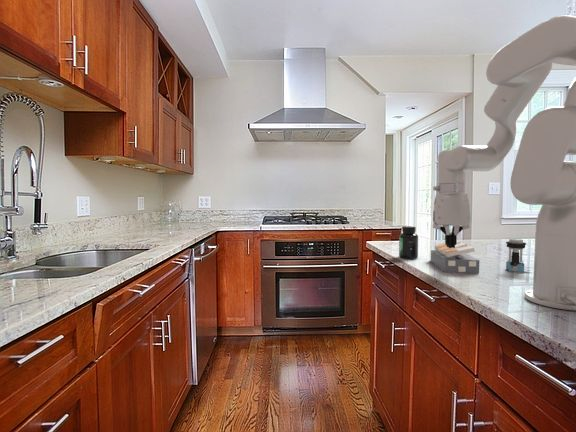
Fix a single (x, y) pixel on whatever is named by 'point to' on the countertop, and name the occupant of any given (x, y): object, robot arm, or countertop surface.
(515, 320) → the countertop surface
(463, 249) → the rocker
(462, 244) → the rocker
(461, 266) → the console
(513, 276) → the countertop surface
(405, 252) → the supplement bottle
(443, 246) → the rocker
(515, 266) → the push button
